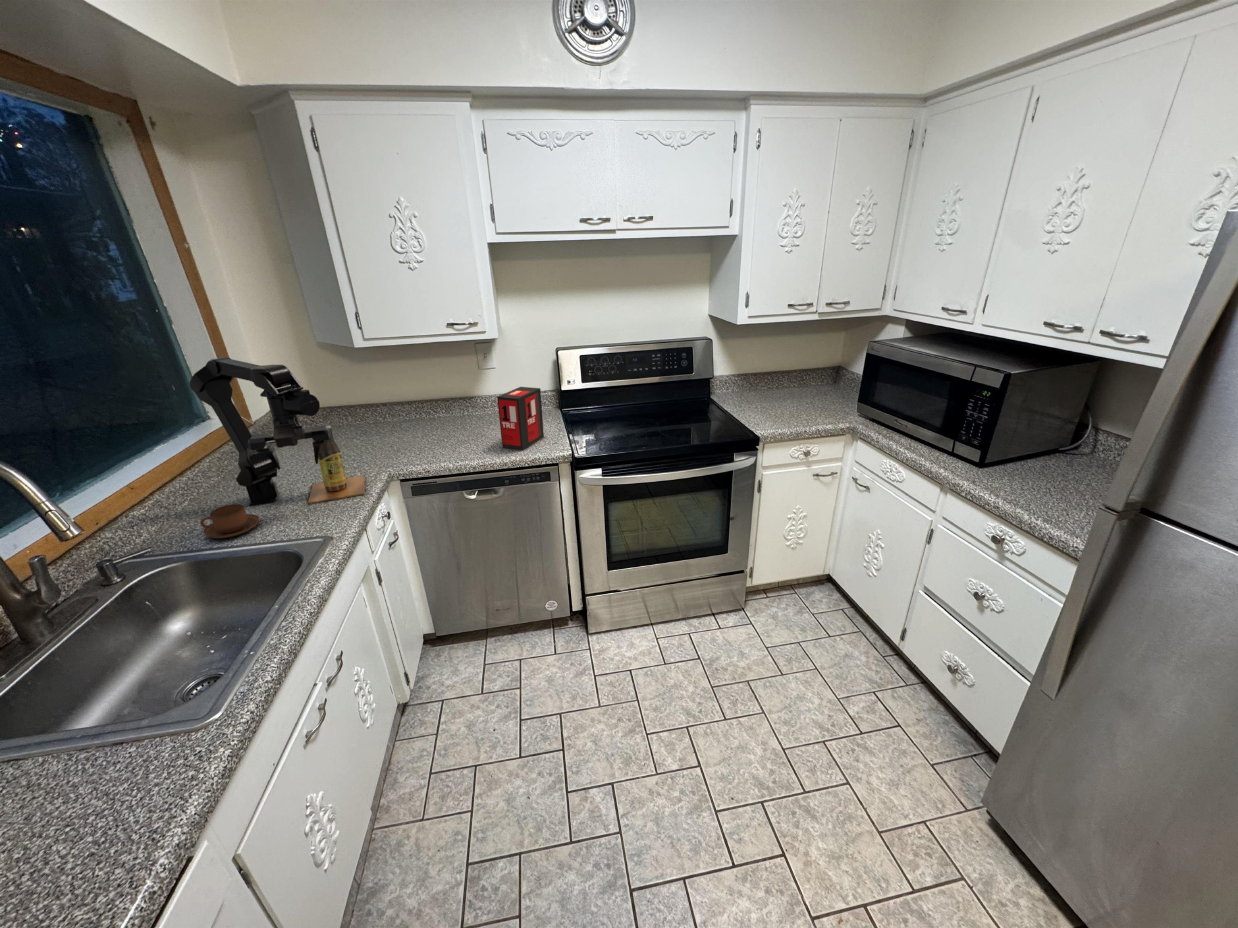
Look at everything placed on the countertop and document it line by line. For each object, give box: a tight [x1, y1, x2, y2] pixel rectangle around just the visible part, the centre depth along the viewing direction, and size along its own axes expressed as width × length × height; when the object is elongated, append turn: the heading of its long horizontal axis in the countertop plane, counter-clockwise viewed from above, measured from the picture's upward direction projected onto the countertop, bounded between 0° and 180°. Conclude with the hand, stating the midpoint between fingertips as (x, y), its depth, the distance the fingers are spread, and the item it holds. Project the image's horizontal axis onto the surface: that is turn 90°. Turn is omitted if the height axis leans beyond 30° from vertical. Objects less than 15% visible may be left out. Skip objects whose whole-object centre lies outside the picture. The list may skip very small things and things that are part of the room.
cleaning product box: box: [496, 386, 545, 451], centre depth 194 cm, size 16×9×20 cm, turn 160°
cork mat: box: [307, 475, 366, 505], centre depth 158 cm, size 15×15×1 cm
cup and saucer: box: [199, 503, 260, 539], centre depth 133 cm, size 12×12×6 cm
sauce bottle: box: [318, 425, 347, 492], centre depth 154 cm, size 6×6×20 cm
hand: (298, 466), depth 142 cm, fingers open, 9 cm apart
